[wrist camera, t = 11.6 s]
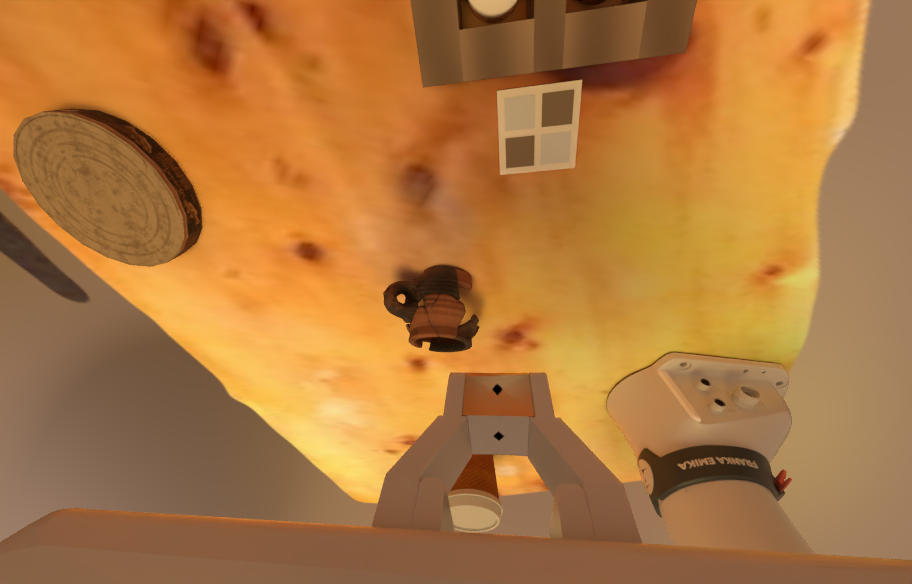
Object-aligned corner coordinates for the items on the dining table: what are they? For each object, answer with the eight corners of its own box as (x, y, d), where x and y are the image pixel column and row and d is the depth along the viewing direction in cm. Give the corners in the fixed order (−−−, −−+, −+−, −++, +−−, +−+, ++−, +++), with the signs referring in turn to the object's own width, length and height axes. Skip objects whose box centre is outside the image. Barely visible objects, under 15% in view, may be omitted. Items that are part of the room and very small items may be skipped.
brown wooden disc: (229, 251, 40) (212, 263, 37) (114, 257, 42) (91, 269, 39) (150, 99, 31) (120, 102, 29) (9, 116, 33) (-30, 120, 30)
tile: (581, 79, 27) (582, 79, 27) (574, 166, 31) (575, 168, 31) (496, 90, 28) (496, 90, 28) (499, 174, 32) (500, 175, 32)
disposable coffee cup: (509, 449, 58) (515, 527, 48) (464, 462, 61) (460, 537, 51) (482, 419, 54) (481, 498, 44) (434, 434, 57) (424, 511, 47)
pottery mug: (496, 276, 39) (495, 343, 36) (458, 302, 47) (455, 359, 43) (400, 245, 34) (388, 319, 31) (375, 280, 42) (364, 342, 39)
